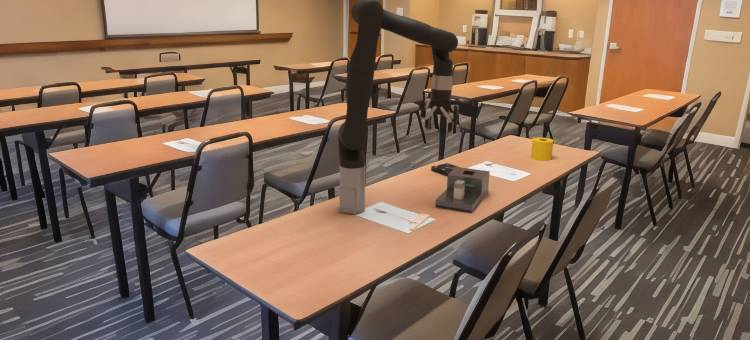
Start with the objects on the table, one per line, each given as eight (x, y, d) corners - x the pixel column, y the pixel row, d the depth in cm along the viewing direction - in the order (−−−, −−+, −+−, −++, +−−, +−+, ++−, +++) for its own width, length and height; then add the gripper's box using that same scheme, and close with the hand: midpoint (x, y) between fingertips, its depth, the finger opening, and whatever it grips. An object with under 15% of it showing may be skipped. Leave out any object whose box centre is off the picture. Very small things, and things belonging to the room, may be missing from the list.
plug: (460, 204, 207) (462, 184, 205) (453, 202, 208) (454, 182, 206) (463, 200, 211) (465, 181, 208) (456, 199, 212) (457, 180, 209)
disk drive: (430, 172, 252) (453, 180, 240) (430, 166, 251) (453, 174, 239) (446, 168, 258) (469, 175, 246) (447, 162, 257) (470, 169, 245)
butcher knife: (399, 229, 187) (399, 226, 187) (417, 215, 200) (417, 212, 199) (413, 231, 185) (413, 228, 184) (430, 217, 197) (430, 214, 197)
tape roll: (554, 161, 270) (556, 142, 267) (533, 160, 270) (535, 142, 267) (548, 155, 279) (550, 137, 277) (528, 155, 280) (530, 137, 277)
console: (471, 213, 201) (473, 190, 198) (435, 207, 206) (436, 184, 204) (488, 192, 224) (489, 171, 221) (454, 187, 229) (456, 166, 226)
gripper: (419, 86, 201) (417, 130, 205) (457, 90, 195) (453, 134, 200) (426, 84, 207) (424, 126, 212) (463, 88, 201) (459, 131, 206)
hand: (438, 130), depth 206 cm, fingers open, 8 cm apart
